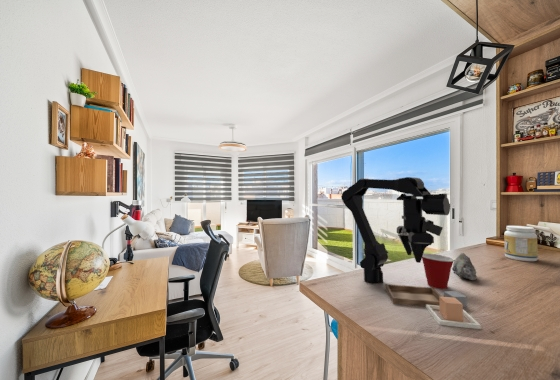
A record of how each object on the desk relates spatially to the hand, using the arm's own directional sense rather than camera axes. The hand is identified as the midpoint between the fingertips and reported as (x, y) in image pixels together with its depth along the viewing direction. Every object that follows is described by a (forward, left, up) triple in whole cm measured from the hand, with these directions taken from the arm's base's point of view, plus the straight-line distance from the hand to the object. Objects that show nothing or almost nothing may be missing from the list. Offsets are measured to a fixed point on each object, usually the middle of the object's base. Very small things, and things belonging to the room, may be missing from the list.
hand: (413, 258), depth 79 cm
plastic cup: (+11, +10, -13) cm, 20 cm away
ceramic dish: (+5, -14, -13) cm, 20 cm away
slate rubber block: (+10, -5, -13) cm, 17 cm away
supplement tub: (+70, +61, -13) cm, 94 cm away
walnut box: (-1, -3, -13) cm, 13 cm away
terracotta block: (+5, -14, -12) cm, 19 cm away
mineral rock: (+26, +25, -13) cm, 38 cm away
